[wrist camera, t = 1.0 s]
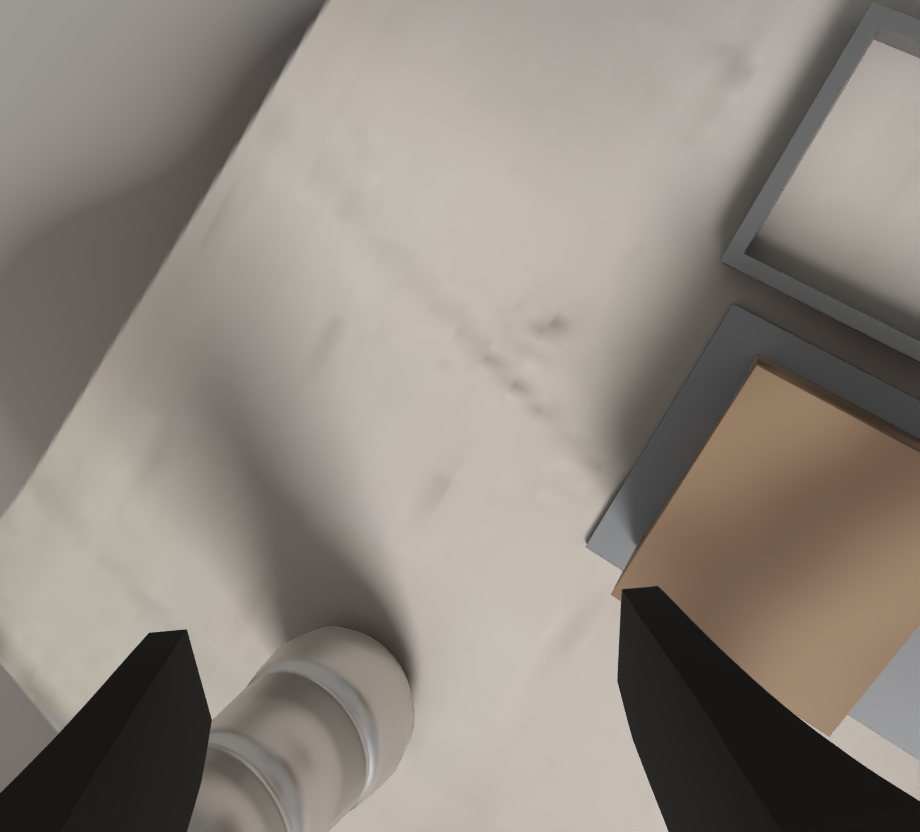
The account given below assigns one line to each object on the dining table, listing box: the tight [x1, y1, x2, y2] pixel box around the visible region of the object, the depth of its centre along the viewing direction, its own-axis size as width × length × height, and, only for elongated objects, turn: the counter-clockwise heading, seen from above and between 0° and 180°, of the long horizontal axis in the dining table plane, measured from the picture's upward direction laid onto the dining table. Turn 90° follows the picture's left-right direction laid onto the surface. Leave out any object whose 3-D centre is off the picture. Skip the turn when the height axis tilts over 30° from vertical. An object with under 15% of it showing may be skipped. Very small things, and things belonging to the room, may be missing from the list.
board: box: [586, 304, 920, 761], centre depth 24 cm, size 16×10×2 cm, turn 62°
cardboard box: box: [611, 354, 920, 736], centre depth 23 cm, size 7×8×4 cm
